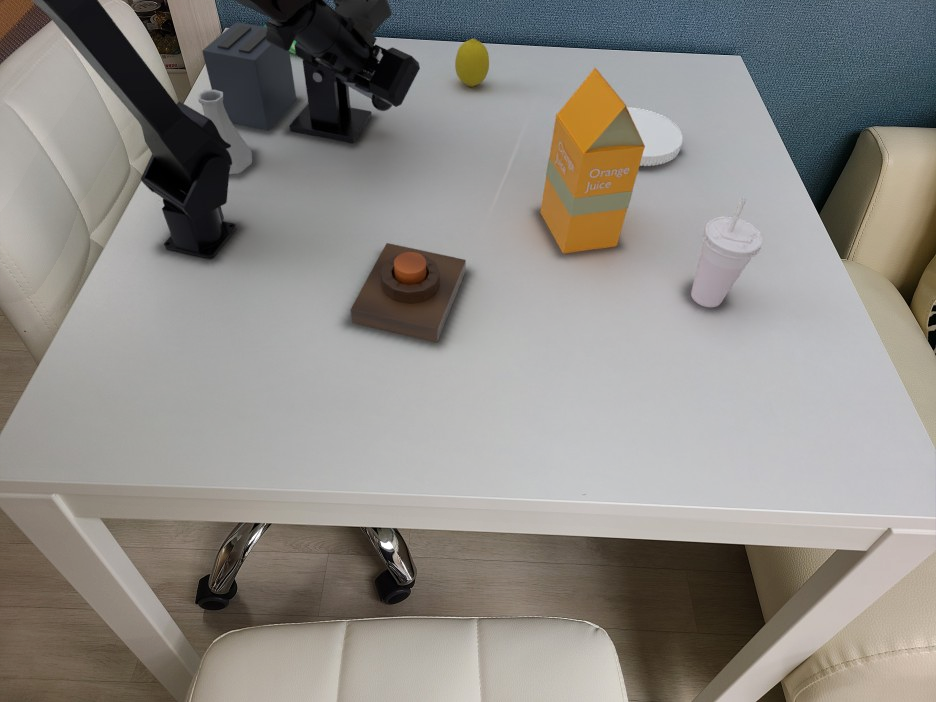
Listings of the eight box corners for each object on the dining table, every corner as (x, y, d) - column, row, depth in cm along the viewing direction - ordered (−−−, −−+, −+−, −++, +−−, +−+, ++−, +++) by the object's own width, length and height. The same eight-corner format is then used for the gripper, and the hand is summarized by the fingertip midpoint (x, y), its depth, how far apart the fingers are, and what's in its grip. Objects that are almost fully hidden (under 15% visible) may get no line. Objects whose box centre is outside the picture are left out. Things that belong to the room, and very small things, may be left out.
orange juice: (562, 254, 85) (592, 108, 70) (538, 212, 91) (562, 68, 76) (618, 246, 87) (659, 101, 72) (592, 205, 92) (625, 63, 77)
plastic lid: (635, 113, 109) (639, 99, 108) (697, 156, 102) (702, 141, 100) (568, 135, 104) (571, 120, 102) (628, 181, 97) (632, 166, 95)
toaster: (268, 132, 100) (254, 57, 92) (219, 122, 101) (201, 48, 93) (296, 100, 107) (286, 28, 98) (250, 91, 108) (235, 19, 99)
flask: (260, 150, 97) (246, 84, 89) (244, 179, 92) (228, 112, 85) (210, 145, 97) (193, 79, 90) (192, 174, 92) (172, 106, 85)
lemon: (449, 82, 113) (450, 34, 107) (478, 77, 115) (481, 29, 109) (462, 97, 110) (465, 49, 104) (492, 92, 112) (496, 43, 106)
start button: (420, 288, 75) (420, 276, 73) (389, 281, 75) (389, 269, 74) (430, 267, 77) (430, 255, 76) (400, 260, 77) (399, 249, 76)
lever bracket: (372, 118, 104) (367, 49, 96) (353, 145, 99) (347, 74, 91) (312, 107, 106) (302, 37, 98) (290, 132, 100) (278, 62, 92)
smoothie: (694, 271, 84) (733, 176, 74) (742, 295, 82) (789, 200, 71) (670, 297, 81) (707, 201, 70) (719, 323, 78) (765, 228, 68)
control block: (437, 343, 74) (437, 317, 71) (351, 323, 75) (348, 297, 72) (465, 273, 82) (466, 247, 79) (387, 256, 83) (385, 230, 80)
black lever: (392, 108, 99) (399, 90, 97) (385, 119, 97) (392, 101, 95) (318, 67, 98) (323, 48, 95) (309, 77, 96) (314, 58, 93)
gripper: (408, -10, 77) (465, 55, 91) (299, -53, 84) (367, 12, 98) (363, 80, 79) (426, 129, 93) (260, 29, 86) (333, 82, 100)
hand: (388, 85), depth 96 cm, fingers closed
